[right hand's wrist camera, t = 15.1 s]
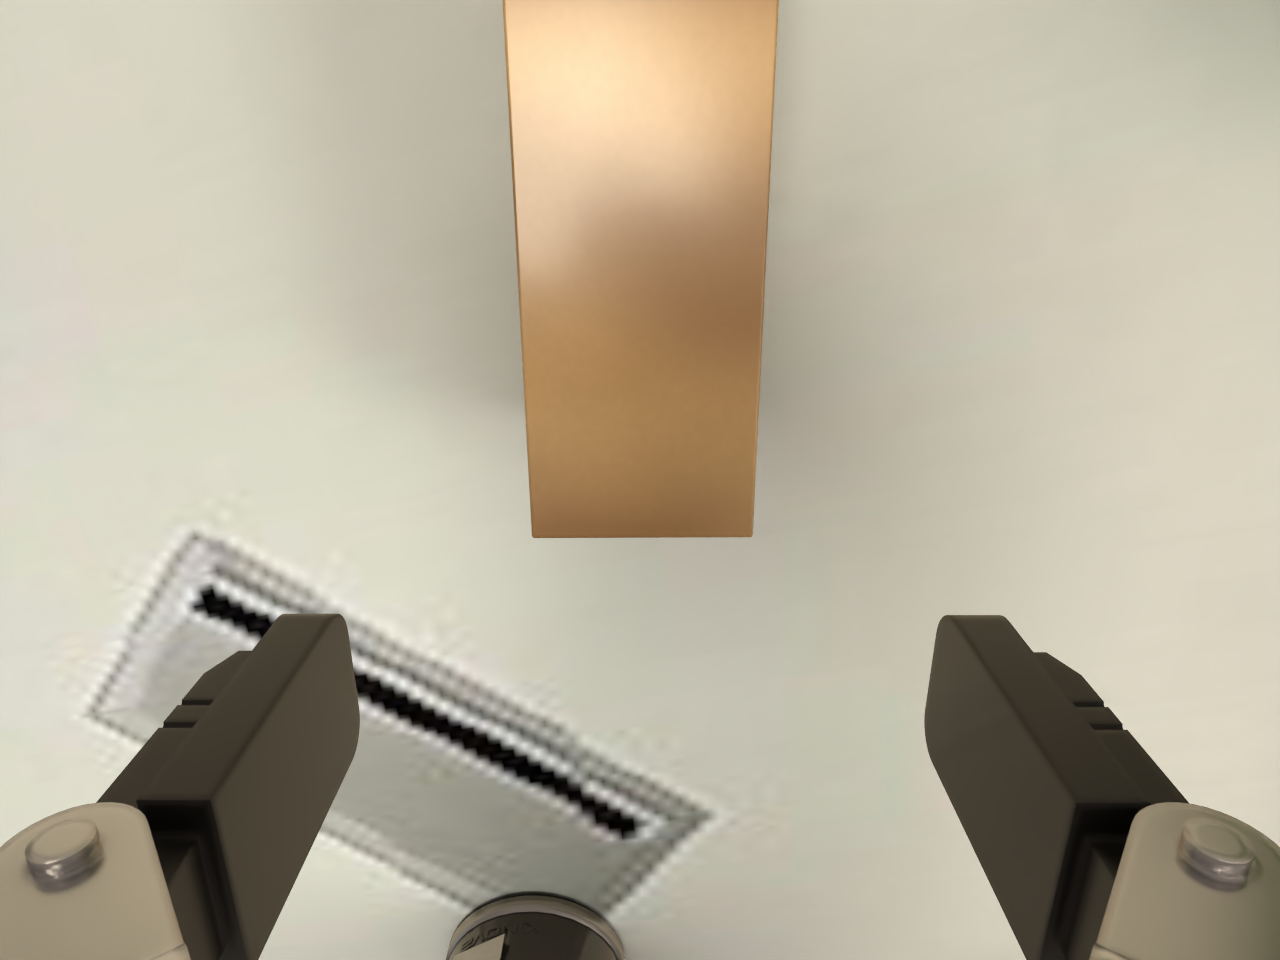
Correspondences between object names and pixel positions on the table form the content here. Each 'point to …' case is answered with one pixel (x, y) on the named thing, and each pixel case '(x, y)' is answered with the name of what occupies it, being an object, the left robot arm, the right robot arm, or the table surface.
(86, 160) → the table surface
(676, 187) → the box
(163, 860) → the right robot arm
